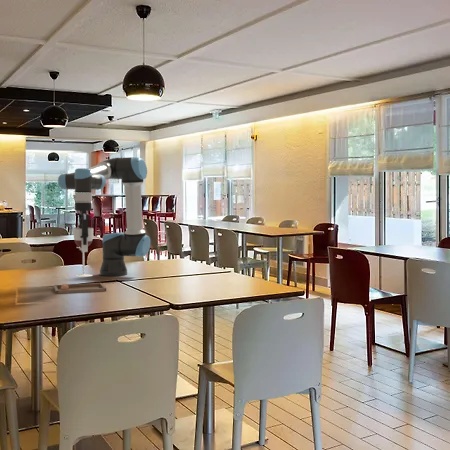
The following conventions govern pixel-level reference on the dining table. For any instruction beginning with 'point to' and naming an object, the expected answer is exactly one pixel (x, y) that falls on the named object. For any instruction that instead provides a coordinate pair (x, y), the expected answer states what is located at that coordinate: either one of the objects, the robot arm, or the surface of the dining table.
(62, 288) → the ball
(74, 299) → the dining table surface
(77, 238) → the wineglass
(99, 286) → the tray
